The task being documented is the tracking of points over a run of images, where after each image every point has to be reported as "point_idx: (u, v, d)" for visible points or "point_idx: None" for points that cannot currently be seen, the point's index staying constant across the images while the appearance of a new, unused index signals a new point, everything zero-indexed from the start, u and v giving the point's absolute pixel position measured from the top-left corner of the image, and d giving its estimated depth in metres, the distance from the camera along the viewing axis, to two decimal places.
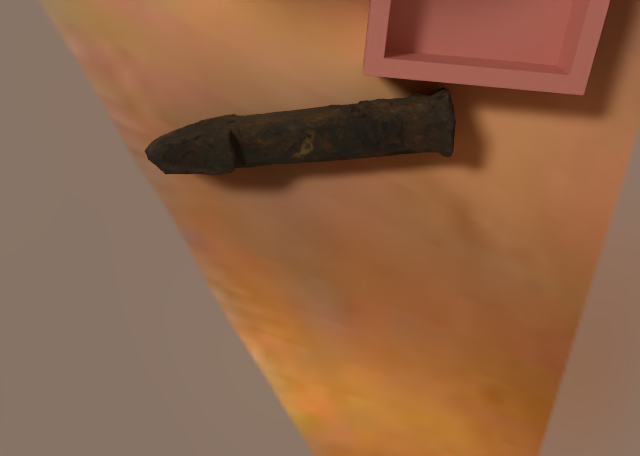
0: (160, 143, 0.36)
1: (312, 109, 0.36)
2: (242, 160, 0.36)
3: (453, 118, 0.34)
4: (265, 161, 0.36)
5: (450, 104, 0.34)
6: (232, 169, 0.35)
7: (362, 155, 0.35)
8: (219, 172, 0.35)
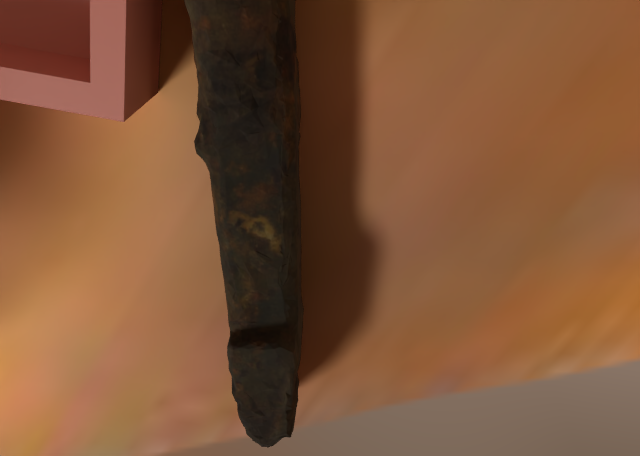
0: None
1: None
2: (279, 328, 0.21)
3: None
4: (286, 292, 0.21)
5: None
6: (287, 350, 0.21)
7: (285, 130, 0.18)
8: (290, 370, 0.21)
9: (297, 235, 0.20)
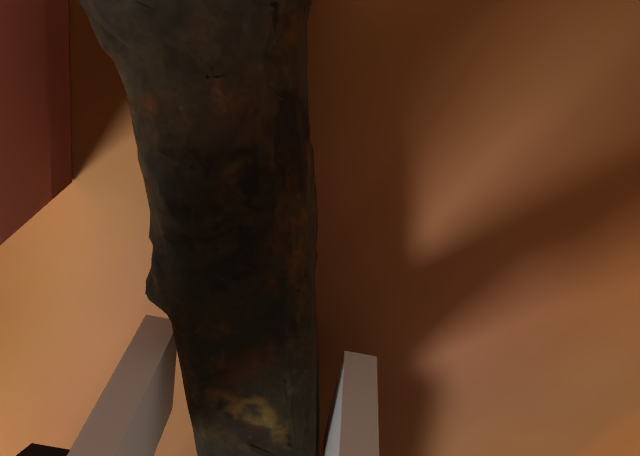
0: None
1: None
2: None
3: None
4: None
5: None
6: None
7: (293, 269, 0.11)
8: None
9: (314, 412, 0.13)
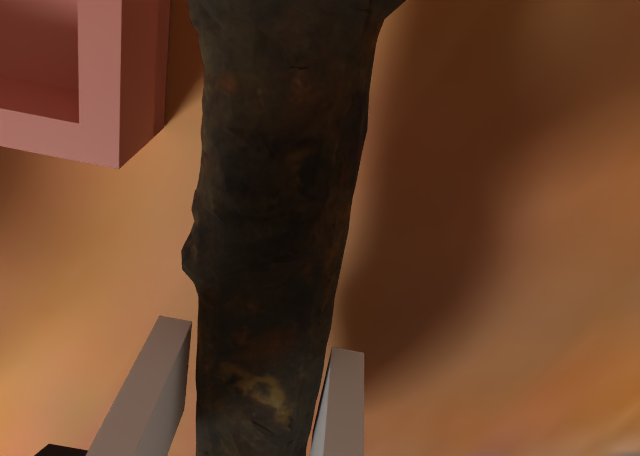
0: None
1: None
2: None
3: None
4: None
5: None
6: None
7: (328, 260, 0.12)
8: None
9: (315, 398, 0.14)
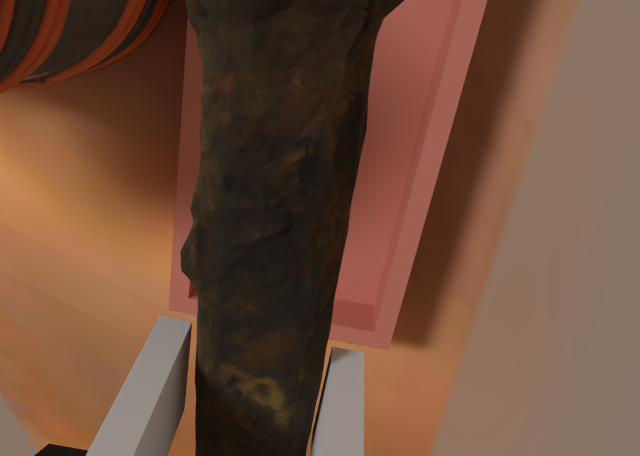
0: None
1: None
2: None
3: None
4: None
5: None
6: None
7: (328, 260, 0.12)
8: None
9: (315, 400, 0.14)
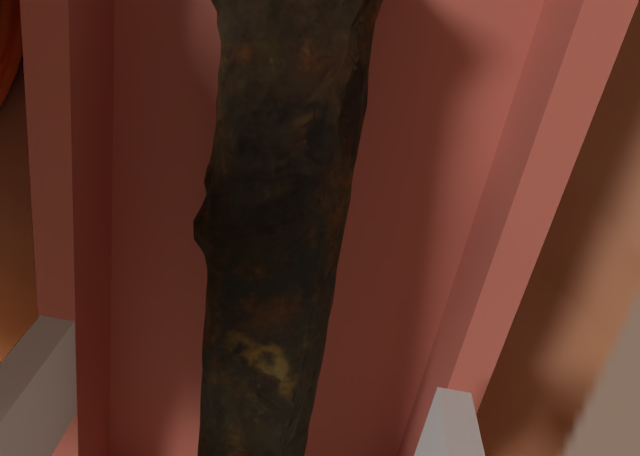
0: None
1: None
2: None
3: None
4: None
5: None
6: None
7: (332, 225, 0.12)
8: None
9: (318, 375, 0.14)
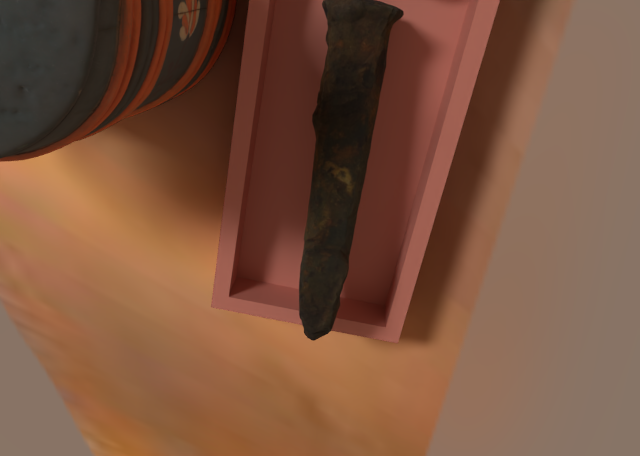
0: None
1: None
2: (339, 247, 0.32)
3: None
4: (349, 223, 0.32)
5: None
6: (343, 261, 0.32)
7: (371, 115, 0.30)
8: (342, 276, 0.32)
9: (362, 187, 0.32)
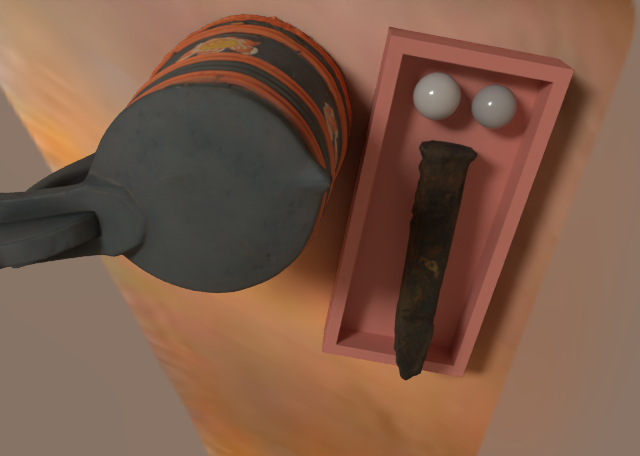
0: (398, 366, 0.47)
1: (407, 248, 0.45)
2: (428, 315, 0.44)
3: (442, 149, 0.40)
4: (434, 298, 0.44)
5: (430, 148, 0.41)
6: (431, 326, 0.44)
7: (453, 224, 0.42)
8: (430, 336, 0.44)
9: (444, 272, 0.44)
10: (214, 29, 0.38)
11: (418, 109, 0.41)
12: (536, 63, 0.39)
